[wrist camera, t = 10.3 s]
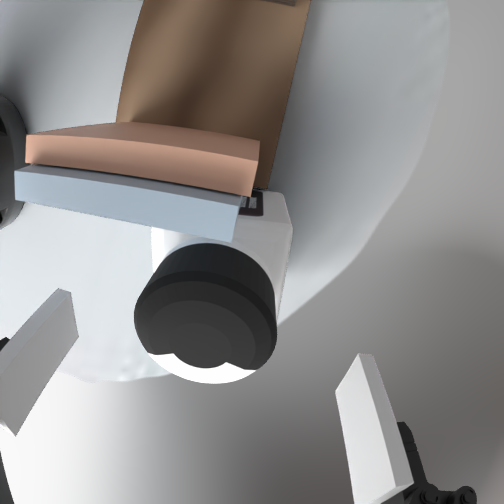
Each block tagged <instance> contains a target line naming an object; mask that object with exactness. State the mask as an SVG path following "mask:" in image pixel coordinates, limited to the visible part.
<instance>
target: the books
mask: <svg viewBox="0 0 504 504" xmlns="http://www.w3.org/2000/svg"><path fill="white" fill-rule="evenodd" d="M259 147H260V141H258V140H253V139H248V138H243V137H238V136H233V135H227V134H221V133H216V132H210V131H203V130H197V129H190V128H183V127H176V126H168V125H159V124H150V123H140V122H118V123H106V124H96V125H86V126H78V127H71V128H64V129H57V130H51V131H45V132H39V133H34V134H29V135H27V136H26V157H25V163H33V165H30V166H27V167H24V168H21V169H18V170H15V171H14V175H15V200H19V201H24V202H29V203H34V204H39V205H44V206H50V207H55V208H60V209H65V210H70V211H75V212H80V213H85V214H90V215H95V216H100V217H105V218H110V219H115V220H121V221H126V222H131V223H136V224H141V225H146V226H151V227H156V228H160V229H165V230H170V231H175V232H180V233H185V234H190V235H195V236H200V237H205V238H210V239H215V240H220V241H225V242H230V243H231V242H232V238H233V234H234V230H235V226H236V221H237V217H238V213H239V209H240V205H241V201H242V197H243V196H248V197H251V192H252V188H253V183H254V179H255V174H256V170H257V165H258V159H259Z"/></svg>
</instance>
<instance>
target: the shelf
mask: <svg viewBox="0 0 504 504" xmlns="http://www.w3.org/2000/svg"><path fill="white" fill-rule="evenodd" d="M310 2H311V0H296V4H295V7H292V6H288V5H283V4H278V3H273V2H267V1H261V0H144V2H143V5H142V8H141V11H140V14H139V18H138V21H137V24H136V28H135V31H134V35H133V39H132V42H131V46H130V50H129V54H128V59H127V63H126V68H125V72H124V77H123V82H122V87H121V92H120V98H119V104H118V110H117V116H116V123H118V122H140V123H150V124H159V125H168V126H176V127H183V128H190V129H197V130H203V131H210V132H216V133H221V134H227V135H233V136H238V137H243V138H248V139H253V140H258V141H260V147H259V159H258V165H257V170H256V174H255V179H254V183H253V186H254V187H259V188H264V189H267V187H268V182H269V178H270V174H271V169H272V165H273V161H274V157H275V152H276V148H277V144H278V139H279V135H280V131H281V127H282V122H283V118H284V114H285V109H286V105H287V101H288V97H289V92H290V88H291V84H292V79H293V75H294V71H295V67H296V62H297V58H298V54H299V49H300V45H301V41H302V37H303V32H304V28H305V24H306V19H307V15H308V11H309V7H310Z"/></svg>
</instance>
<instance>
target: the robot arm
mask: <svg viewBox="0 0 504 504" xmlns="http://www.w3.org/2000/svg"><path fill="white" fill-rule="evenodd" d="M26 136H27V135H26V131H25V127H24V124H23V121H22V118H21V116H20V114H19V112H18V110H17V109H16V107H15V106H14V105H13V103H12V102H11V101H9V100H8V99H7V98H5V97H2V96H0V230H1V229H2V228H4V227H6V226H7V225H9V224H10V223H12V222H13V221H14V220H15V219H16V217H17V216H18V214H19V213H20V211H21V209H22V206H23V204H24V201H19V200H15V175H14V171H15V170H18V169H21V168H24V167H27V166H30V163H25V157H26ZM78 337H79V336H78V331H77V326H76V321H75V315H74V309H73V303H72V297H71V292H68V291H65V290H62V289H59V288H58V289H57V290H56V291H55V292H54V293H53V294H52V295H51V296H50V297H49V298H48V299H47V300H46V301H45V302H44V303H43V304H42V305H41V306H40V307H39V308H38V309H37V311H36V312H35V313H34V314H33V315H32V316H31V317H30V318H29V319H28V320H27V321H26V322H25V324H24V325H23V326H22V327H21V328H20V329H19V330H18V331H17V333H16V334H15V335H14V336H13V337H12V338H11V339H8V338H7V337H5V338H3V339H2V340H0V425H1V427H2V428H3V429H5V430H6V431H8V432H9V433H11V434H12V435H14V436H16V435H17V433H18V432H19V430H20V428H21V426H22V425H23V423H24V421H25V419H26V418H27V416H28V414H29V412H30V411H31V409H32V407H33V406H34V404H35V402H36V401H37V399H38V397H39V396H40V394H41V392H42V391H43V389H44V388H45V386H46V384H47V383H48V382H49V380H50V378H51V377H52V375H53V374H54V372H55V371H56V369H57V368H58V366H59V365H60V363H61V362H62V360H63V359H64V357H65V356H66V354H67V353H68V351H69V350H70V349H71V347H72V346H73V344H74V343H75V341H76V340H77V339H78ZM335 393H336V398H337V402H338V408H339V413H340V418H341V424H342V429H343V434H344V440H345V446H346V452H347V457H348V463H349V470H350V476H351V482H352V490H353V497H354V504H476V502H477V498H476V493H475V491H474V490H473V489H472V488H471V487H469V486H463V487H461V488H459V489H458V490H456V491H440V490H438V488H437V487H436V486H434V485H433V484H429V483H428V482H427V480H426V477H425V473H424V470H423V466H422V463H421V460H420V457H419V453H418V451H417V447H416V444H415V443H414V438H413V435H412V432H411V430H410V429H409V427H408V426H407V425H406V423H405V422H396V420H395V417H394V414H393V411H392V408H391V405H390V402H389V399H388V396H387V393H386V390H385V387H384V384H383V382H382V379H381V376H380V373H379V371H378V368H377V366H376V363H375V360H374V357H373V355H369V354H359V353H358V355H357V357H356V358H355V360H354V362H353V363H352V365H351V367H350V368H349V370H348V372H347V373H346V375H345V377H344V378H343V380H342V381H341V383H340V385H339V386H338V388H337V389H336V391H335ZM0 504H14V502H13V498H12V495H11V492H10V489H9V485H8V482H7V478H6V474H5V470H4V466H3V462H2V457H1V453H0Z"/></svg>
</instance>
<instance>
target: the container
mask: <svg viewBox="0 0 504 504" xmlns="http://www.w3.org/2000/svg"><path fill="white" fill-rule="evenodd" d="M151 234H152V257H153V275H152V277H151V279H150V280H149V282H148V283H147V285H146V287H145V288H144V290H143V291H142V293H141V295H140V296H139V298H138V300H137V303H136V305H135V310H134V323H135V329H136V332H137V335H138V337H139V339H140V341H141V343H142V345H143V346H144V348H145V349H146V351H147V352H148V354H149V355H150V356H151V357H152V358H153V359H154V360H155V361H156V362H157V363H158V364H160V365H161V366H162V367H164V368H165V369H167V370H168V371H170V372H172V373H174V374H176V375H178V376H180V377H183V378H186V379H188V380H192V381H197V382H202V383H226V382H231V381H235V380H239V379H241V378H244V377H246V376H248V375H250V374H252V373H253V372H255V371H256V370H257V369H259V368H260V367H261V366H263V365H264V364H265V363H266V362H267V360H268V359H269V358H270V356H271V355H272V353H273V351H274V349H275V345H276V341H277V319H278V314H279V308H280V303H281V298H282V292H283V287H284V281H285V276H286V270H287V265H288V259H289V253H290V247H291V241H292V235H293V227H292V223H291V220H290V216H289V213H288V209H287V206H286V202H285V199H284V196H283V194H282V193H279V192H271V191H262V190H253V189H252V192H251V197H248V196H243V197H242V201H241V205H240V209H239V213H238V217H237V221H236V226H235V230H234V234H233V238H232V242H231V243H230V242H225V241H220V240H215V239H210V238H205V237H200V236H195V235H190V234H185V233H180V232H175V231H170V230H165V229H160V228H156V227H151Z"/></svg>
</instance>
